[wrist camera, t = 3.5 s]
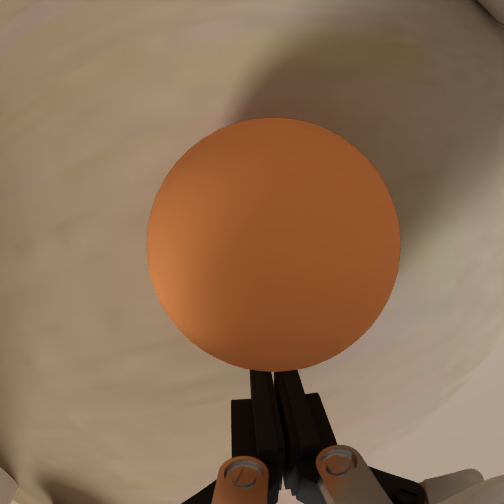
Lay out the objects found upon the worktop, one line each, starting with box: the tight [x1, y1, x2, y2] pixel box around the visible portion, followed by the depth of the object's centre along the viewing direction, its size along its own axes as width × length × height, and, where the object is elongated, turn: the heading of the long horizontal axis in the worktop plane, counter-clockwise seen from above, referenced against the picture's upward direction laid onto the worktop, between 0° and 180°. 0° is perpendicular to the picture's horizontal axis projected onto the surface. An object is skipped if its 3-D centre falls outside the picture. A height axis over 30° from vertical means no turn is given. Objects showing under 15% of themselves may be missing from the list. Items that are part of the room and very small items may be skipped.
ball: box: [146, 118, 400, 372], centre depth 7 cm, size 6×6×6 cm
